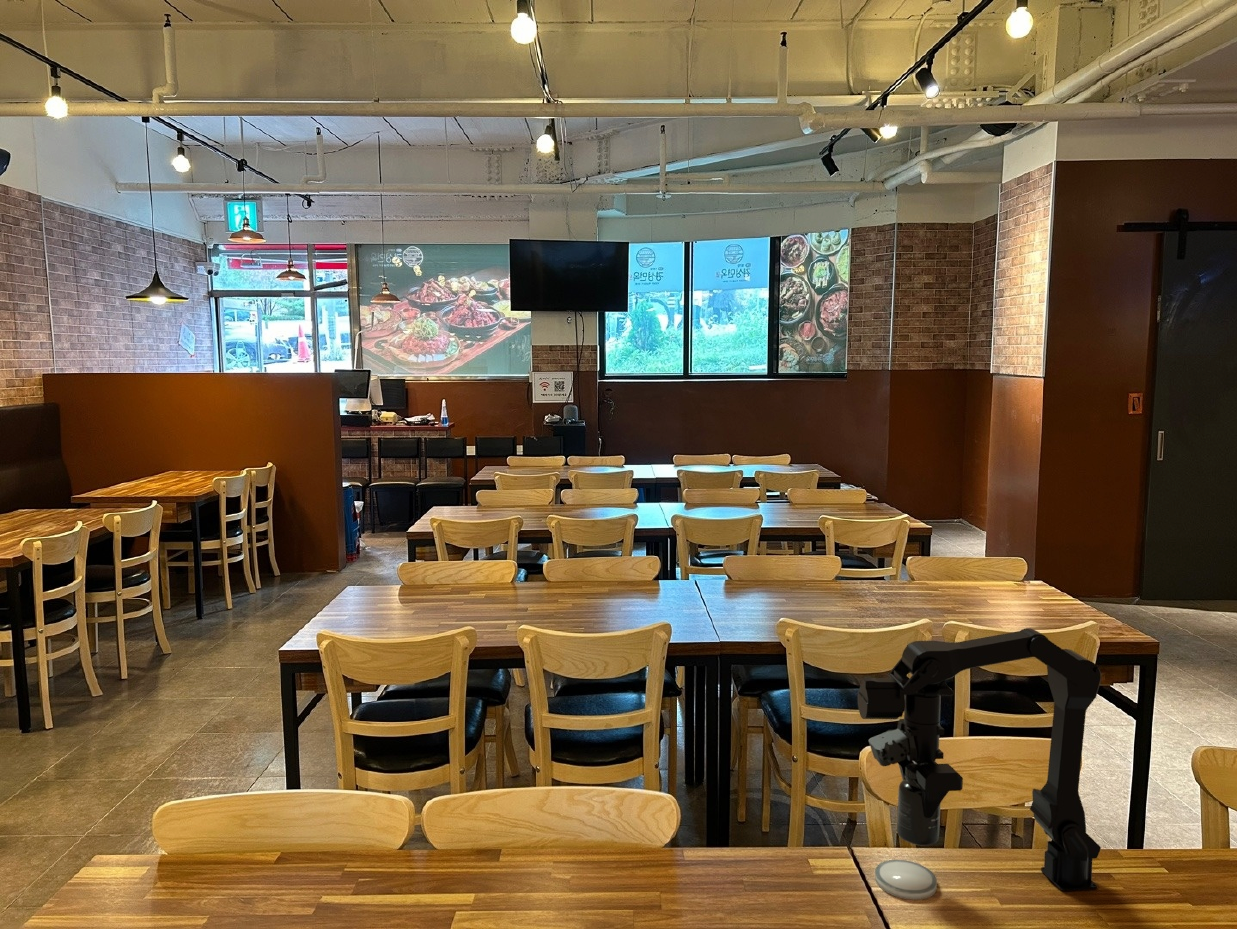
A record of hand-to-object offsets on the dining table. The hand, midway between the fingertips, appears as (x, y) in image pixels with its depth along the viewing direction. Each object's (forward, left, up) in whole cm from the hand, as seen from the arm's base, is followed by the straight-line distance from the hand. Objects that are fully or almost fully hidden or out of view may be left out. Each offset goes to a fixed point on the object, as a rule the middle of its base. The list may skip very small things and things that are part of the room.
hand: (918, 807), depth 146 cm
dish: (+2, 0, -13) cm, 13 cm away
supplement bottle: (0, 0, -5) cm, 5 cm away
